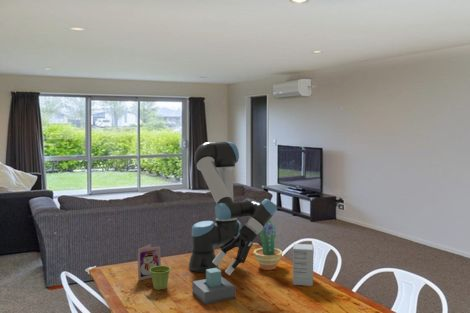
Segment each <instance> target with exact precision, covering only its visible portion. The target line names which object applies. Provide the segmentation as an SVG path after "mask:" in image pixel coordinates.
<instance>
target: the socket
mask: <svg viewBox="0 0 470 313" xmlns="http://www.w3.org/2000/svg"><path fill="white" fill-rule="evenodd" d="M192 294H193V295H194V296H196V298H197V299H198V300H200V302H202V304H204V305H208V304H213V303H219V302H223V301H227V300H233V299H236V285H235V284H233V283H231V282H230V281H229V280H228V279H227V278H225V277H223V276H222V275H221V286H218V287H213V288H209V287H207V286H206V278H204V279H199V280H194V281H192Z"/></svg>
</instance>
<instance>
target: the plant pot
mask: <svg viewBox="0 0 470 313" xmlns="http://www.w3.org/2000/svg"><path fill="white" fill-rule="evenodd" d="M170 271H171V267H170V266H167V265H161V266H155V267H152V268H150V272H151V275H152V278H151V280H152V287H153V289H154V290H157V291H160V290H166V289H167V288H168V283H169V282H168V281H169V275H170Z"/></svg>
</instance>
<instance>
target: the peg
mask: <svg viewBox="0 0 470 313" xmlns="http://www.w3.org/2000/svg"><path fill="white" fill-rule="evenodd" d="M221 276H222V270H221V269H219V268H212V269H206V272H205V279H206V286H207V287H209V288H213V287H218V286H221Z"/></svg>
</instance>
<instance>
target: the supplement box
mask: <svg viewBox="0 0 470 313" xmlns="http://www.w3.org/2000/svg"><path fill="white" fill-rule="evenodd" d="M292 285H293V286H310V287H313V285H314V244H308V243H307V244H304V243H293V247H292Z"/></svg>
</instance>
